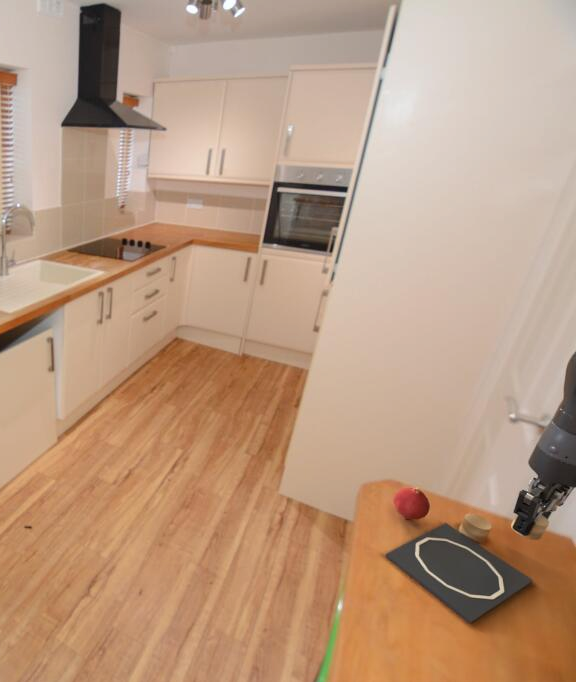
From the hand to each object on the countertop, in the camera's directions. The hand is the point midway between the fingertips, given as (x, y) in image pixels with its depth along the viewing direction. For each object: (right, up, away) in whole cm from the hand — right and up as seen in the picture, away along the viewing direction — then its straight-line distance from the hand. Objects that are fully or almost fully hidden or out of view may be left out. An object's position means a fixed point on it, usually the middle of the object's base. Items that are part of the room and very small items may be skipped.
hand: (527, 527), depth 82 cm
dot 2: (0, -1, 0) cm, 1 cm away
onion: (-14, -3, +11) cm, 18 cm away
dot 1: (-3, -4, +7) cm, 9 cm away
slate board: (-13, -8, 0) cm, 15 cm away
